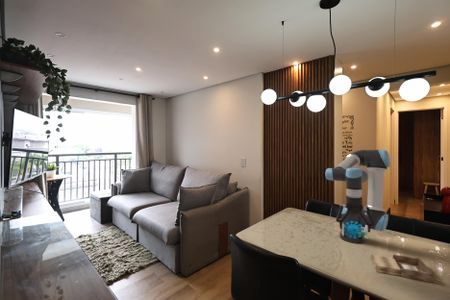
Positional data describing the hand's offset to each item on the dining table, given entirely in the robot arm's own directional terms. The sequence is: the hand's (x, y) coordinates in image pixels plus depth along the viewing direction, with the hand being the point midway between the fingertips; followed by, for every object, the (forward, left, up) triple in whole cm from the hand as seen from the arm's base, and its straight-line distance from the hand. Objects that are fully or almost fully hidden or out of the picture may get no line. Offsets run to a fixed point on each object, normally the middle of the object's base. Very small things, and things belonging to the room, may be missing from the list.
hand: (354, 236), depth 117 cm
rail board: (+21, +8, -18) cm, 29 cm away
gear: (0, 0, -1) cm, 1 cm away
